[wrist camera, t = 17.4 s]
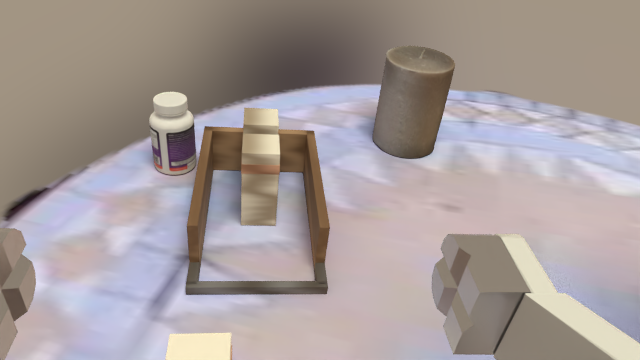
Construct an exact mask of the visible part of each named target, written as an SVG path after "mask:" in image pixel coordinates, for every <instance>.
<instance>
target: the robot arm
mask: <svg viewBox="0 0 640 360" xmlns="http://www.w3.org/2000/svg"><path fill="white" fill-rule="evenodd" d="M25 246H26V243H25V240H24V237H23V235H22V232H21V231H19V230H17V229H9V228H0V360H5V358H6V356H7V354H8V352H9V349H10V347H11V345H12V343H13V341H14V339H15V337H16V335H17V333H18V331H17V329H16V326H15V323H14V321H15V320H17V319H18V318H19V317H21V316H22V315H24V314H25V313H26V312H27V311H28V309H29V307H30V305H31V302H32V300H33V296H34V291H35V285H36V279H35V270H34V267H33V264H32V262H31V261H30V260H29V259H27V258H26V257H25V256H23V255H22V252H23V250H24V248H25ZM441 250H442V253H443V255H444V257H443V258H442V259H441V260H440V261H438V262H437V263H436V264H435V267H434V271H433V274H432V293H433V298H434V301H435V304H436V307H437V309H438V310H439V311H440V312H442V313H443V314H444V315H445V316H446V320H445V323H444V325H443V327H444V330H445V333H446V336H447V338H448V341H449V344H450V347H451V349H452V352H453V354H485V355H494V356H493V357H494V358H495V359H496V360H640V343H638V342H637V341H635V340H634V339H632V338H631V337H629V336H628V335H626V334H625V333H623V332H622V331H620V330H619V329H618V328H616V327H615V326H613V325H612V324H610V323H609V322H607V321H606V320H604V319H603V318H601V317H600V316H598V315H597V314H595V313H594V312H592V311H591V310H589V309H588V308H586V307H585V306H583V305H582V304H580V303H579V302H577V301H576V300H575V299H573V298H572V297H570V296H569V295H567V294H566V293H558V292H557V290H556V289H555V287H554V286H553V284H552V282H551V281H550V279H549V278H548V276H547V274H546V273H545V271H544V270H543V268H542V266H541V265H540V263H539V262H538V260H537V258H536V257H535V255H534V254H533V252H532V250H531V249H530V247H529V246H528V244H527V242H526V241H525V239H524V238H523V237H522V236H520V235H519V234H494V235H492V234H448V235H447V236H446V237H445V238H444V240H443V243H442V246H441Z"/></svg>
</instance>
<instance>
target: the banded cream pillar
mask: <svg viewBox="0 0 640 360" xmlns="http://www.w3.org/2000/svg"><path fill="white" fill-rule="evenodd" d="M165 360H232V345H231V333H203V334H170V336H169V342H168V348H167V353H166V359H165Z"/></svg>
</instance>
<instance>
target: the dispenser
mask: <svg viewBox="0 0 640 360" xmlns="http://www.w3.org/2000/svg"><path fill="white" fill-rule="evenodd" d="M278 128H279V124H278V109H260V108H244V126H243V128H231V127H206V126H205V128H204V134H203V140H202V145H201V151H200V156H199V162H198V167H197V173H196V178H195V184H194V190H193V195H192V201H191V206H190V212H189V217H188V223H187V233H188V247H189V260H190V263H189V269H188V276H187V282H186V294H327V289H328V285H327V277H326V270H325V256H326V249H327V243H328V236H329V229H330V226H329V220H328V214H327V208H326V202H325V195H324V189H323V183H322V177H321V171H320V165H319V159H318V153H317V147H316V140H315V134H314V131H305V130H280V129H278ZM213 170H240V171H241V174H242V188H241V225H272V226H275V225H276V210H277V195H278V179H279V172H303V176H304V184H305V193H306V202H307V211H308V219H309V228H310V237H311V245H312V254H313V263H314V272H315V280H316V281H198V280H199V273H200V265H201V258H202V250H203V243H204V235H205V228H206V221H207V213H208V206H209V198H210V191H211V183H212V176H213Z"/></svg>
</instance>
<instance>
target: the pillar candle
mask: <svg viewBox="0 0 640 360" xmlns="http://www.w3.org/2000/svg"><path fill="white" fill-rule="evenodd" d="M386 56H387V57H386V62H385V68H384V74H383V79H382V85H381V90H380V96H379V102H378V107H377V113H376V119H375V125H374V131H373V141H374V143H375V144H377V145H378V146H379V147H380V148H381V149H382V150H383V151H385V152H386V153H388V154H391V155H394V156H397V157H402V158H420V157H423V156H426V155H428V154H430V153H431V152H432V151H433V150H434V144H435V141H436V137H437V133H438V130H439V126H440V123H441V119H442V116H443V112H444V108H445V103H446V100H447V96H448V92H449V88H450V84H451V80H452V76H453V71H454V67H455V63H454V61H453V60H452V59H451V58H450V57H449V56H447V55H445V54H444V53H442V52H439V51H437V50H434V49H430V48H425V47H418V46H417V47H416V46H401V47H396V48H393V49H389V51H387V54H386Z"/></svg>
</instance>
